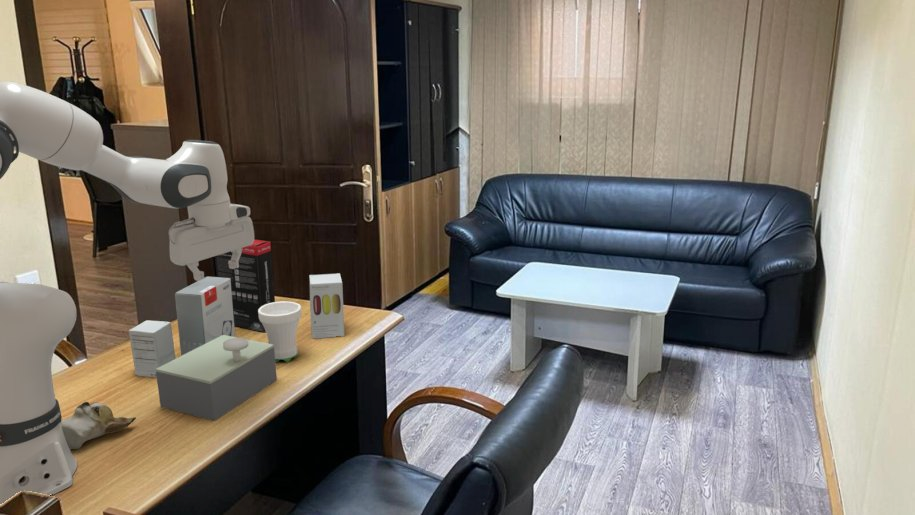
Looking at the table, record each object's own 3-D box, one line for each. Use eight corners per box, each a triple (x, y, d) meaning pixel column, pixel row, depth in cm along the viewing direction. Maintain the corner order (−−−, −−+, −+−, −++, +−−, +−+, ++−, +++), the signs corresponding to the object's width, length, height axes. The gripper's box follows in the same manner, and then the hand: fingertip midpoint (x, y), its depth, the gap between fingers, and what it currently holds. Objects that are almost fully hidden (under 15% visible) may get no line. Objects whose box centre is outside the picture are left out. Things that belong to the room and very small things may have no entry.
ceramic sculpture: (37, 409, 138) (103, 383, 151) (41, 447, 140) (106, 419, 153) (71, 421, 133) (136, 394, 146) (75, 461, 135) (139, 430, 148)
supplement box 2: (312, 339, 195) (308, 284, 191) (311, 327, 204) (307, 274, 199) (345, 336, 197) (342, 281, 193) (343, 325, 206) (340, 272, 201)
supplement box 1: (152, 363, 179) (146, 319, 176) (177, 366, 178) (172, 321, 174) (134, 376, 172) (127, 329, 169) (160, 378, 171) (154, 332, 167)
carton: (214, 420, 151) (210, 384, 148) (160, 407, 157) (155, 371, 154) (276, 380, 170) (274, 347, 168) (226, 369, 176) (223, 337, 174)
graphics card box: (279, 326, 205) (272, 239, 198) (263, 334, 199) (256, 244, 192) (235, 317, 212) (227, 233, 205) (219, 325, 206) (210, 238, 198)
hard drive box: (207, 367, 177) (199, 295, 172) (180, 364, 179) (172, 293, 173) (237, 343, 192) (230, 277, 187) (212, 341, 194) (205, 275, 188)
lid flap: (213, 384, 148) (211, 362, 146) (155, 371, 154) (152, 350, 153) (276, 347, 167) (275, 327, 166) (223, 337, 174) (221, 318, 172)
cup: (296, 345, 191) (292, 298, 187) (310, 359, 182) (307, 310, 178) (256, 354, 185) (252, 306, 181) (269, 369, 176) (265, 318, 172)
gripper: (177, 226, 138) (186, 289, 142) (255, 206, 154) (261, 264, 158) (158, 222, 141) (167, 284, 145) (237, 203, 157) (243, 259, 161)
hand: (217, 273), depth 152 cm, fingers open, 8 cm apart
